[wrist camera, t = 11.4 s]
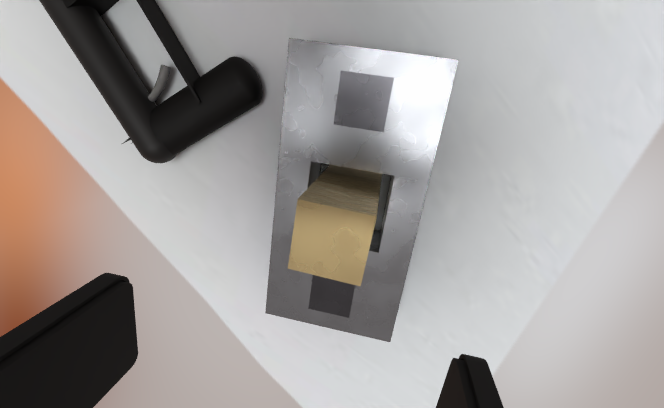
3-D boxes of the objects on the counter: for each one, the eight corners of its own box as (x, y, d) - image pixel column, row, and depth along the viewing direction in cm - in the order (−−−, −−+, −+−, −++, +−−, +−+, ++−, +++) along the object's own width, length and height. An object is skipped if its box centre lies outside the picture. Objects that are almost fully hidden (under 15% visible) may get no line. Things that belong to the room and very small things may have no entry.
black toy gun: (132, -265, 18) (-44, -83, 22) (307, 71, 22) (132, 178, 26) (168, -210, 21) (9, -59, 25) (315, 76, 25) (159, 171, 29)
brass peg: (331, 162, 26) (297, 199, 16) (381, 173, 25) (376, 216, 16) (323, 209, 27) (287, 268, 18) (371, 220, 27) (360, 286, 17)
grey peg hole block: (305, 47, 23) (288, 37, 20) (447, 66, 22) (459, 59, 18) (281, 286, 30) (265, 313, 26) (390, 310, 29) (390, 343, 25)
